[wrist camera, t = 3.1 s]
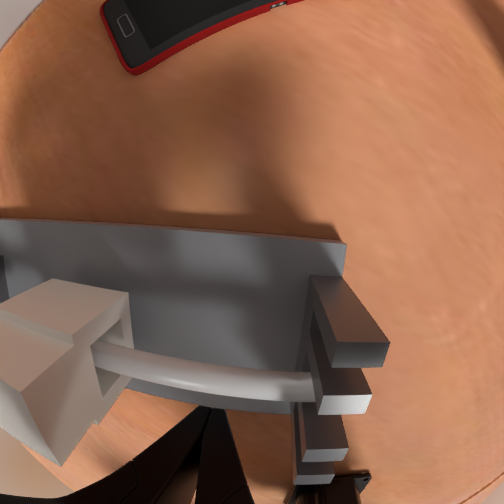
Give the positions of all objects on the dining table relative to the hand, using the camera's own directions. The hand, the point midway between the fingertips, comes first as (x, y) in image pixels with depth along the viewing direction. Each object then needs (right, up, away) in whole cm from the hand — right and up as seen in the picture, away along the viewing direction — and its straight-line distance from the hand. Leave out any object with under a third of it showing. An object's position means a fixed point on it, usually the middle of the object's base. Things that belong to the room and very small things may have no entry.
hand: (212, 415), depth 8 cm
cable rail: (-8, +2, +7) cm, 11 cm away
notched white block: (-7, +2, +5) cm, 8 cm away
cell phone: (0, +21, +3) cm, 21 cm away
